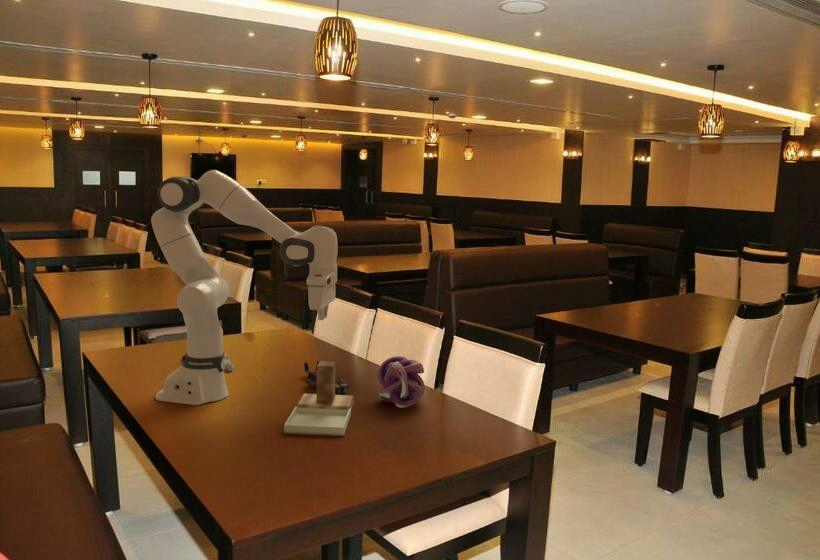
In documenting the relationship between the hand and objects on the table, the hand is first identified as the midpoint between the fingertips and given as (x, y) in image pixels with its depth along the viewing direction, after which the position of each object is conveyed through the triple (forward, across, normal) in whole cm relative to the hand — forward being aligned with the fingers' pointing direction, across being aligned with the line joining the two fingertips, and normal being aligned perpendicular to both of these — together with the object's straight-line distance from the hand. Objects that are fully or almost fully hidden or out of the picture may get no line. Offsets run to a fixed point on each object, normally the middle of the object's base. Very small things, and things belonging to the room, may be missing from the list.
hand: (322, 318), depth 202 cm
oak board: (+27, +9, +4) cm, 29 cm away
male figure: (+28, -29, -50) cm, 64 cm away
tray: (+27, +22, +5) cm, 35 cm away
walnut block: (+24, +10, +4) cm, 26 cm away
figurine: (+28, -12, -2) cm, 30 cm away
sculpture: (+27, -3, +26) cm, 38 cm away
